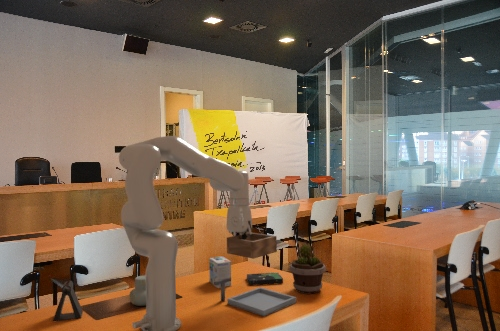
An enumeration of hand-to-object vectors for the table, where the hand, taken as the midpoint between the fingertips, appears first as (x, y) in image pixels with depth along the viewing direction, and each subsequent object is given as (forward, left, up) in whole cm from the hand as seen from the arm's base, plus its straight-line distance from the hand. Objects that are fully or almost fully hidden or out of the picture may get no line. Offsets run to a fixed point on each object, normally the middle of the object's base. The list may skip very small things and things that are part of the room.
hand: (240, 249), depth 158 cm
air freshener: (-29, +24, -20) cm, 42 cm away
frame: (0, -6, 0) cm, 6 cm away
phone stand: (-54, +32, -20) cm, 65 cm away
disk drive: (+23, +8, -20) cm, 32 cm away
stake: (-7, +3, -19) cm, 21 cm away
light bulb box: (+7, +20, -20) cm, 29 cm away
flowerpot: (+25, -14, -20) cm, 35 cm away
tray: (+1, -10, -19) cm, 22 cm away
